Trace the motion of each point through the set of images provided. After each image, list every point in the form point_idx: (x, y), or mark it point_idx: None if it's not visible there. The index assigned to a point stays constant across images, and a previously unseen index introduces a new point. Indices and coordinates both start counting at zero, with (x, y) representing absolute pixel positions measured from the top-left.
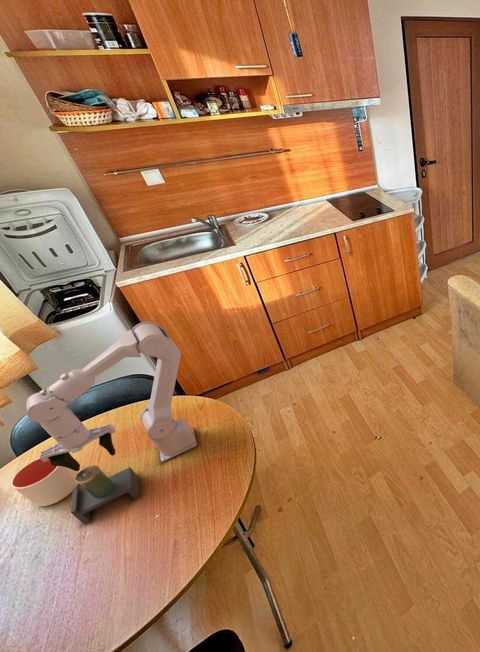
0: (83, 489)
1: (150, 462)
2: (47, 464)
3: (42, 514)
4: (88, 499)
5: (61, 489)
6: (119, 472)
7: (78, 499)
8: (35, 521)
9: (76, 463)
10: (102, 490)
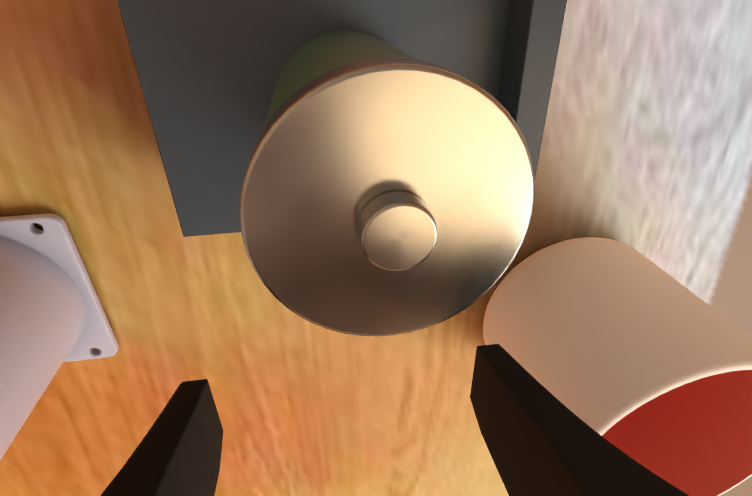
0: None
1: (149, 253)
2: None
3: (631, 203)
4: None
5: (564, 283)
6: None
7: None
8: (661, 177)
9: (493, 427)
10: (323, 39)
